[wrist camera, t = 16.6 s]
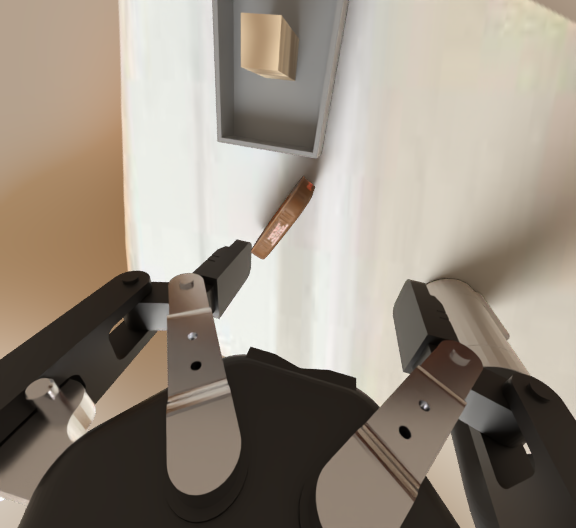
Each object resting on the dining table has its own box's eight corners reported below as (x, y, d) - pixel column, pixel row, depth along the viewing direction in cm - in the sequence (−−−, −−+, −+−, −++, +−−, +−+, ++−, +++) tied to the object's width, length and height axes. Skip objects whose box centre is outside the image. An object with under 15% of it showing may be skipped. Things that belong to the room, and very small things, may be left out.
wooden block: (299, 39, 28) (281, 15, 22) (295, 80, 31) (277, 70, 24) (267, 36, 29) (240, 12, 22) (265, 77, 31) (240, 67, 25)
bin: (359, -59, 24) (359, -95, 20) (321, 153, 35) (316, 158, 31) (231, -64, 26) (208, -98, 22) (233, 139, 37) (217, 141, 33)
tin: (306, 170, 37) (294, 182, 30) (322, 183, 37) (314, 198, 30) (258, 236, 45) (240, 258, 38) (272, 246, 46) (256, 270, 39)
